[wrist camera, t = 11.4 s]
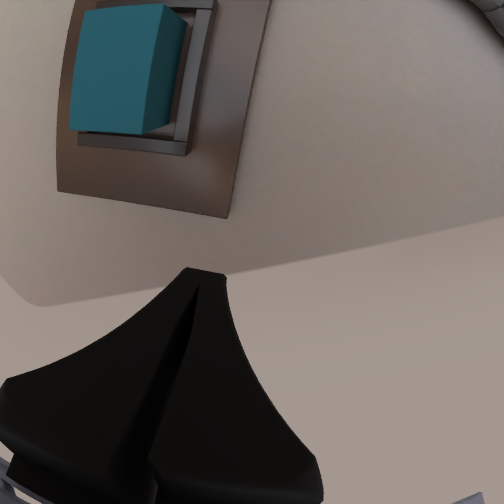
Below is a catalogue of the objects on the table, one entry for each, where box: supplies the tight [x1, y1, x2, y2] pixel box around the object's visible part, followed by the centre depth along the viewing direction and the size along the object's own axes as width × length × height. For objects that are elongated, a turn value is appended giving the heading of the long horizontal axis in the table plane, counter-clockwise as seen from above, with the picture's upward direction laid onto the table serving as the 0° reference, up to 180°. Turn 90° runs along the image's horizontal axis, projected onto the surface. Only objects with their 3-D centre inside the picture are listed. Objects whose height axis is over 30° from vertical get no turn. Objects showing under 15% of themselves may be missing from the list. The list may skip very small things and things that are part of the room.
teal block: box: [69, 4, 187, 135], centre depth 12 cm, size 6×4×4 cm, turn 169°
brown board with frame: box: [56, 0, 272, 219], centre depth 13 cm, size 16×12×2 cm
